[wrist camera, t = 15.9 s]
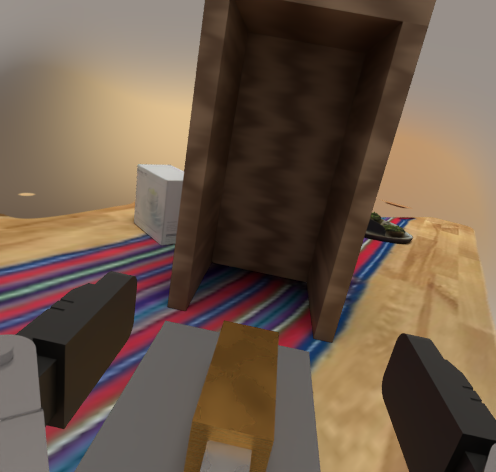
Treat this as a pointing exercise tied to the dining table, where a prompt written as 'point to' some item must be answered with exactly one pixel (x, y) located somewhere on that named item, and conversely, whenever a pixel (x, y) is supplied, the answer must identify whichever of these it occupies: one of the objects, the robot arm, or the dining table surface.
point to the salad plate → (386, 231)
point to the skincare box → (158, 201)
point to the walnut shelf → (292, 139)
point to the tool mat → (184, 405)
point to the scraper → (236, 404)
